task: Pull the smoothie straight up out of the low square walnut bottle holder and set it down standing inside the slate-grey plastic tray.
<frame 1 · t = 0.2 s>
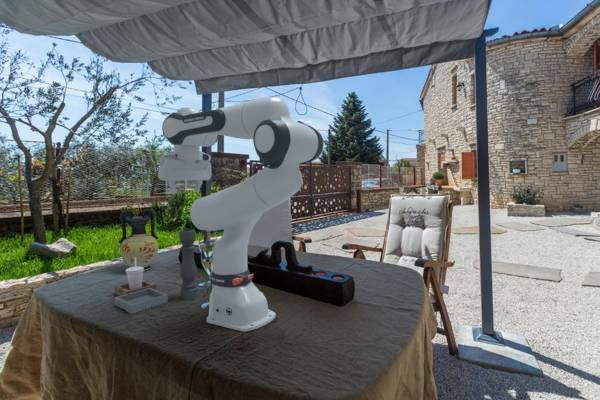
hand: (185, 192, 117), 39 cm above the table, tool pointing down, fingers open, 8 cm apart
smoothie: (136, 293, 125), resting in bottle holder
amphora: (140, 270, 158), on the table
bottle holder: (136, 292, 125), on the table
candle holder: (189, 297, 120), on the table
tray: (141, 303, 114), on the table
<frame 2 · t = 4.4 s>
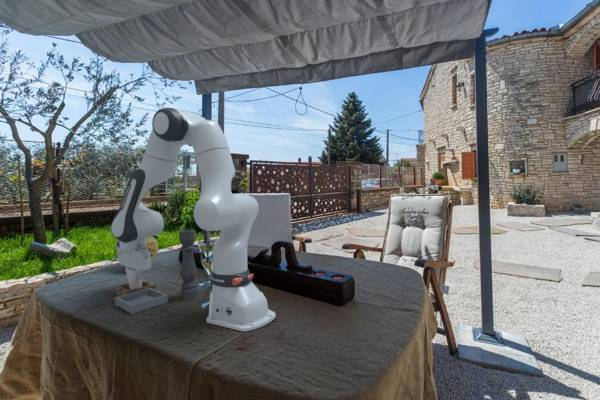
hand: (135, 278, 125), 6 cm above the table, tool pointing down, fingers closed on smoothie, 6 cm apart
smoothie: (136, 293, 125), resting in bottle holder, touching gripper
everything else where it was.
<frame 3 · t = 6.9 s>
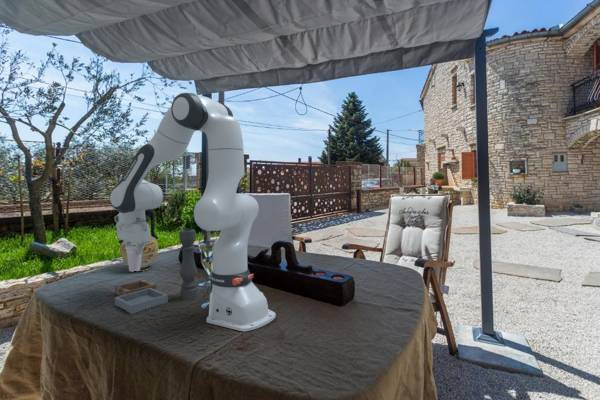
hand: (134, 253, 124), 16 cm above the table, tool pointing down, fingers closed on smoothie, 6 cm apart
smoothie: (134, 270, 124), point 9 cm above the table, touching gripper
everything else where it was.
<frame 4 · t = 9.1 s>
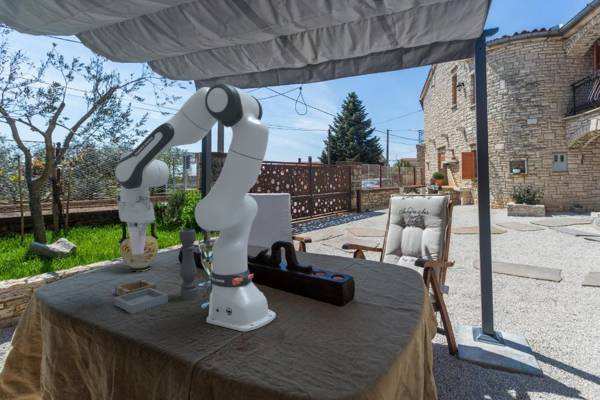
hand: (137, 234, 117), 24 cm above the table, tool pointing down, fingers closed on smoothie, 6 cm apart
smoothie: (138, 254, 117), point 17 cm above the table, touching gripper
everything else where it was.
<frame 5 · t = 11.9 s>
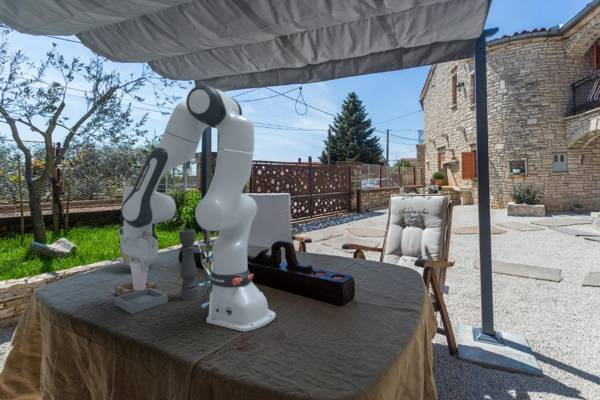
hand: (139, 269, 113), 12 cm above the table, tool pointing down, fingers closed on smoothie, 6 cm apart
smoothie: (139, 289, 113), point 5 cm above the table, touching gripper
everything else where it was.
when the fingers open (8 cm above the table, at t = 13.9 s): smoothie stays where it is, resting on tray.
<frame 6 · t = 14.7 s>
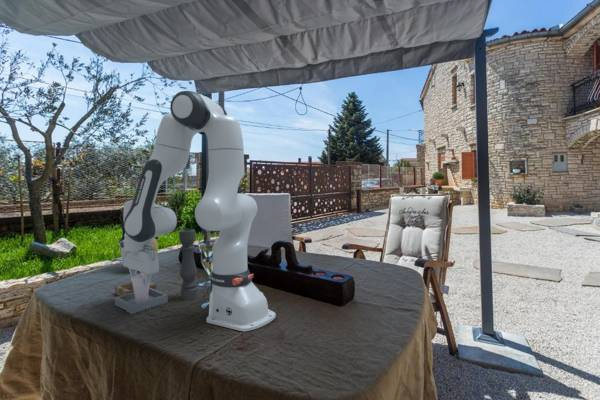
hand: (140, 282, 114), 8 cm above the table, tool pointing down, fingers open, 8 cm apart
smoothie: (142, 303, 113), resting on tray
everything else where it was.
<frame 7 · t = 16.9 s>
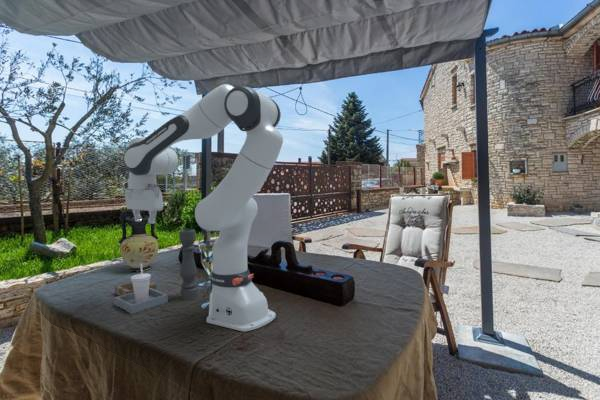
hand: (144, 222, 116), 29 cm above the table, tool pointing down, fingers open, 8 cm apart
nothing on the table moved.
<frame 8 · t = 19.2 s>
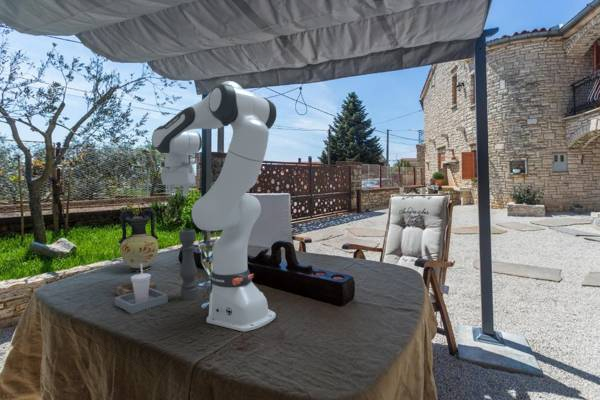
hand: (178, 196, 135), 37 cm above the table, tool pointing down, fingers open, 8 cm apart
nothing on the table moved.
at the end: smoothie 0.9 cm off-centre on the tray, point 0.4 cm above the tray's base; smoothie tilted 0°; the gripper is holding nothing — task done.
